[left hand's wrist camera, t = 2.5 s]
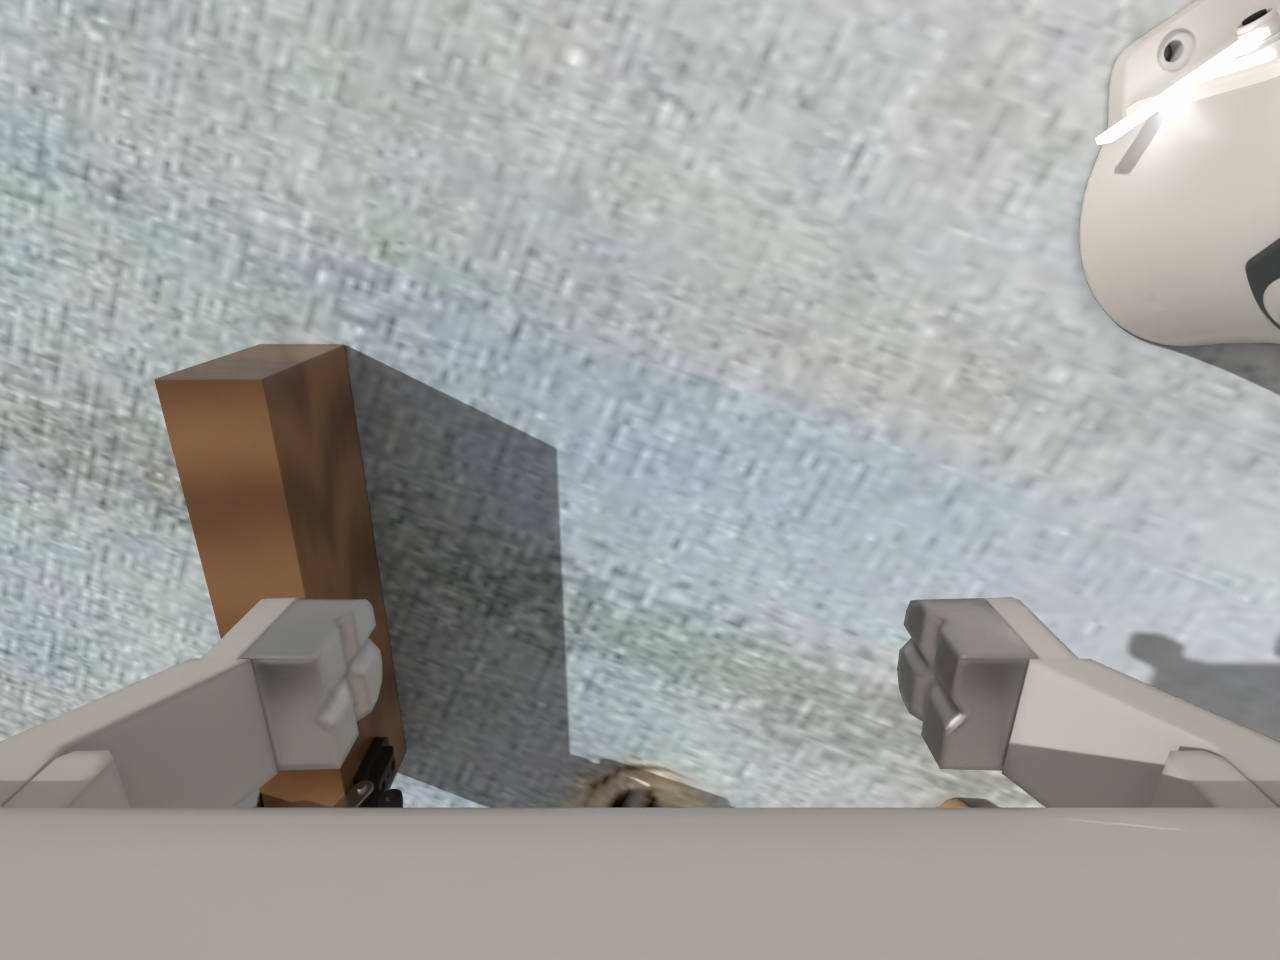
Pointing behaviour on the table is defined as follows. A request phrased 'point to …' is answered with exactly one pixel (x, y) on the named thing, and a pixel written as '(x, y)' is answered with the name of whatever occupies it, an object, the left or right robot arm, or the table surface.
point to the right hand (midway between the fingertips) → (341, 748)
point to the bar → (282, 510)
